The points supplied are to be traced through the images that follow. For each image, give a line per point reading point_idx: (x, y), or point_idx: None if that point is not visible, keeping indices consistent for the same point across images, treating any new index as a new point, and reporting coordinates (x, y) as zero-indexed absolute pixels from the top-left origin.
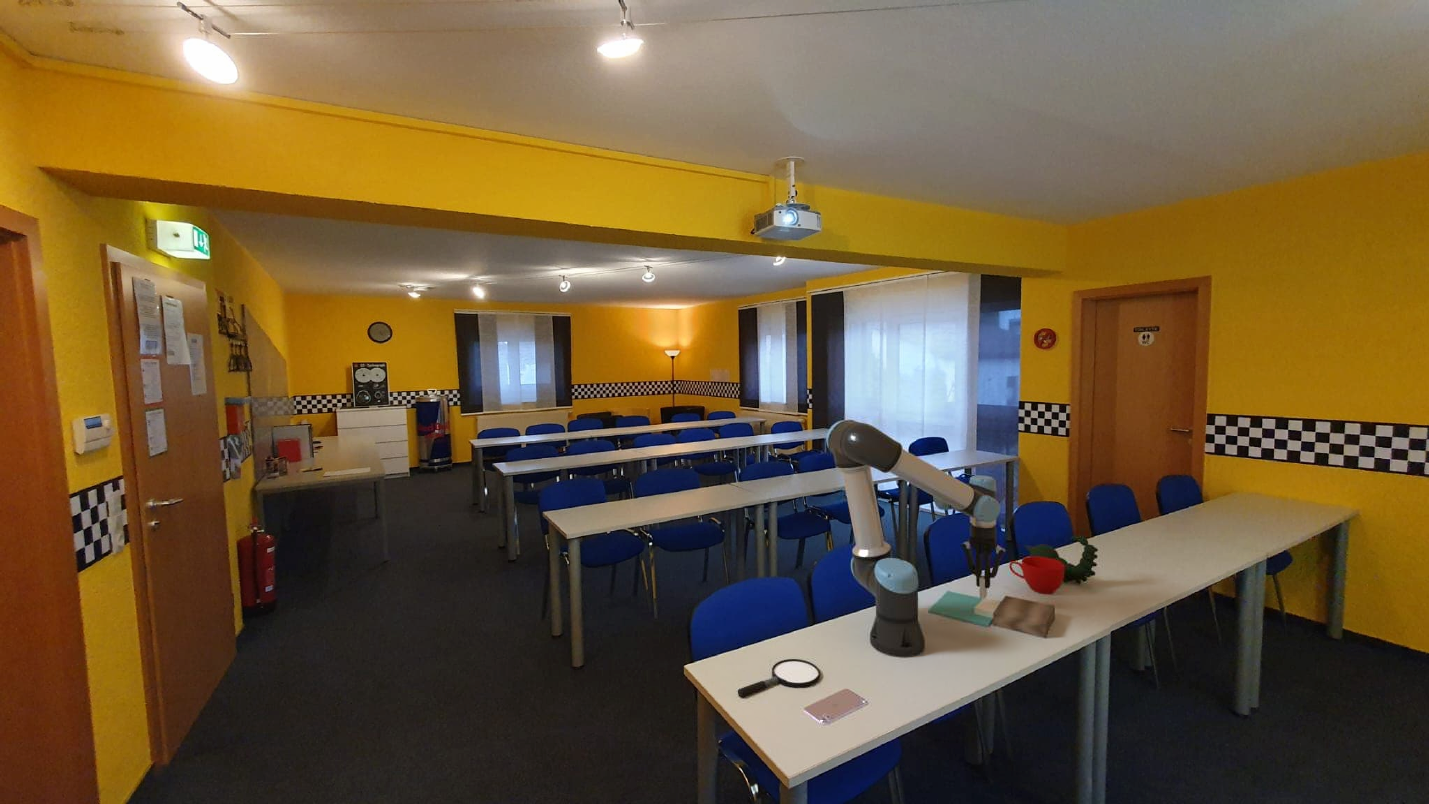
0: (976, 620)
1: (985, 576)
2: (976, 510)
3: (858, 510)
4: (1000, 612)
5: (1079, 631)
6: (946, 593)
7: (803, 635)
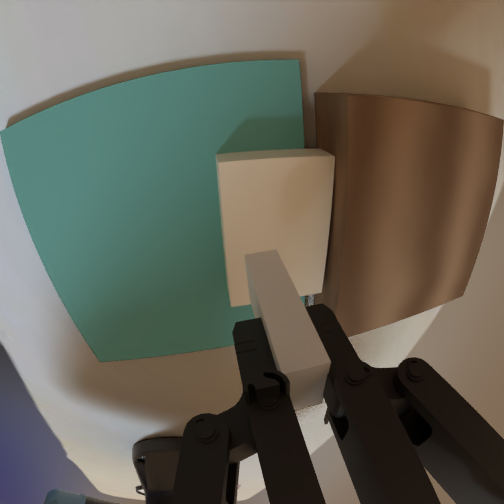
0: None
1: (336, 418)
2: None
3: None
4: (355, 320)
5: (499, 171)
6: (12, 167)
7: (86, 467)
